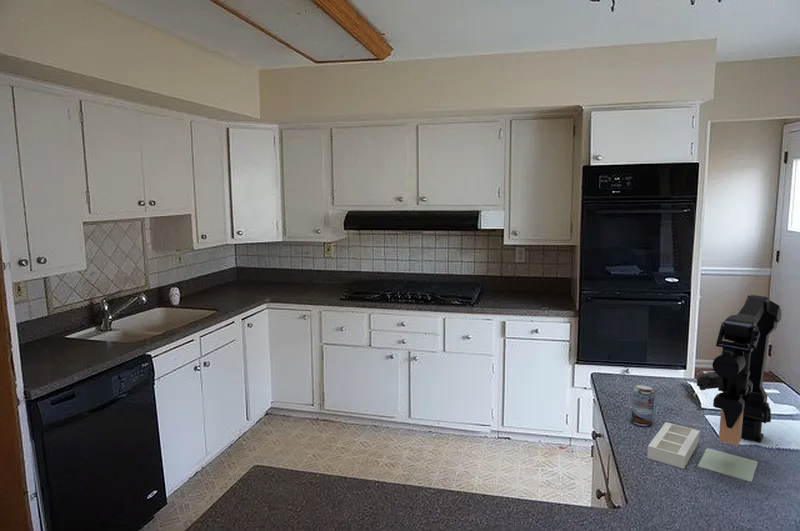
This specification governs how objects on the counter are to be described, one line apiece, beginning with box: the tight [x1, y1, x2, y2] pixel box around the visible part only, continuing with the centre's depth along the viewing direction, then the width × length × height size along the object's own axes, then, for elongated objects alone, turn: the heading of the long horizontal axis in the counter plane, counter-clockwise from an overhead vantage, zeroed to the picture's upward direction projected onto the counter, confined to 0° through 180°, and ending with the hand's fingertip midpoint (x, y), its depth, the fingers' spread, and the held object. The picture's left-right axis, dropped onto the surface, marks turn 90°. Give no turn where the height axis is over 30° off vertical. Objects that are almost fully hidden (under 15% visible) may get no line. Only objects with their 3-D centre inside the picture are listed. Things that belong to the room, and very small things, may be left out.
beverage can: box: [630, 384, 655, 427], centre depth 166 cm, size 6×7×12 cm
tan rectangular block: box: [718, 409, 744, 447], centre depth 140 cm, size 5×5×10 cm
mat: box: [697, 447, 759, 483], centre depth 142 cm, size 12×12×1 cm
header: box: [646, 421, 701, 469], centre depth 150 cm, size 18×9×4 cm, turn 140°
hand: (731, 424), depth 140 cm, fingers closed on tan rectangular block, 4 cm apart
